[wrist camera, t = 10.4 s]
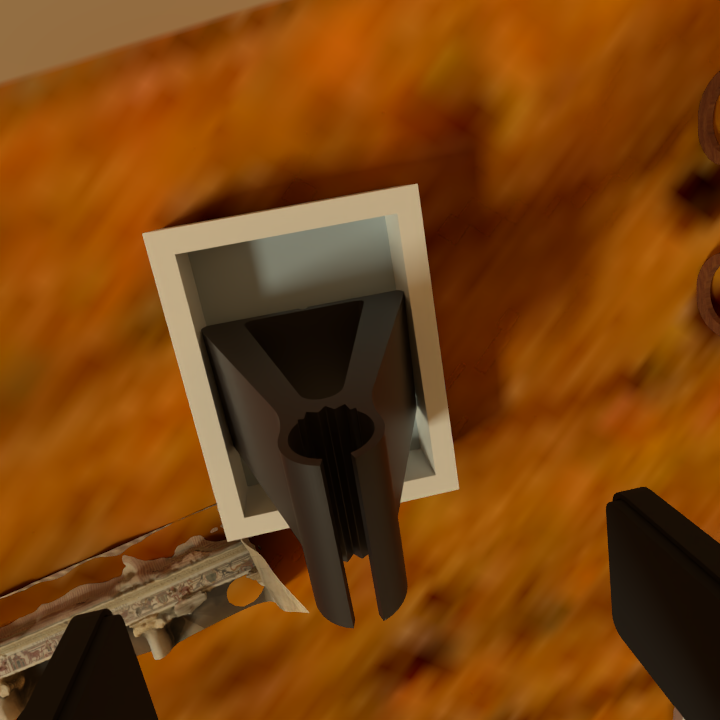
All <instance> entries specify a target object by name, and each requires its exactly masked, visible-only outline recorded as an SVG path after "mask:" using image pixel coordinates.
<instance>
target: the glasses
mask: <svg viewBox="0 0 720 720" xmlns="http://www.w3.org/2000/svg"><path fill="white" fill-rule="evenodd" d="M719 94H720V71H719V72H718V73H717V74H716V75H715V76H714V77H713V79H712V80H711V81H710V82H709V84H708V86H707V88H706V89H705V91H704V93H703V96H702V99H701V102H700V106H699V111H698V136H699V140H700V144H701V146H702V149H703V151H704V153H705V154H706V155H707V157H708V158H709V159H710V160H711V161H713V162H714V163H715V164H718V165H720V145H719V144H718V142H717V140H716V138H715V135H714V130H713V112H714V107H715V103H716V101H717V98H718V96H719ZM719 266H720V253H719V254H716V255H713V256H712V257H711V258H709V259H708V260H707V261H706V262H705V264H704V265H703V266H702V268H701V270H700V273H699V275H698V279H697V304H698V309H699V311H700V314H701V316H702V318H703V320H704V321H705V323H706V325H707V326H708V327H709V328H710V329H711V330H712V331H714V332H715V333H716V334H718V335H719V336H720V318H719V317H718V316H717V314H716V313H715V311H714V309H713V306H712V302H711V298H710V287H711V281H712V277H713V275H714V273H715V271H716V270H717V269H718V268H719Z"/></svg>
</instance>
